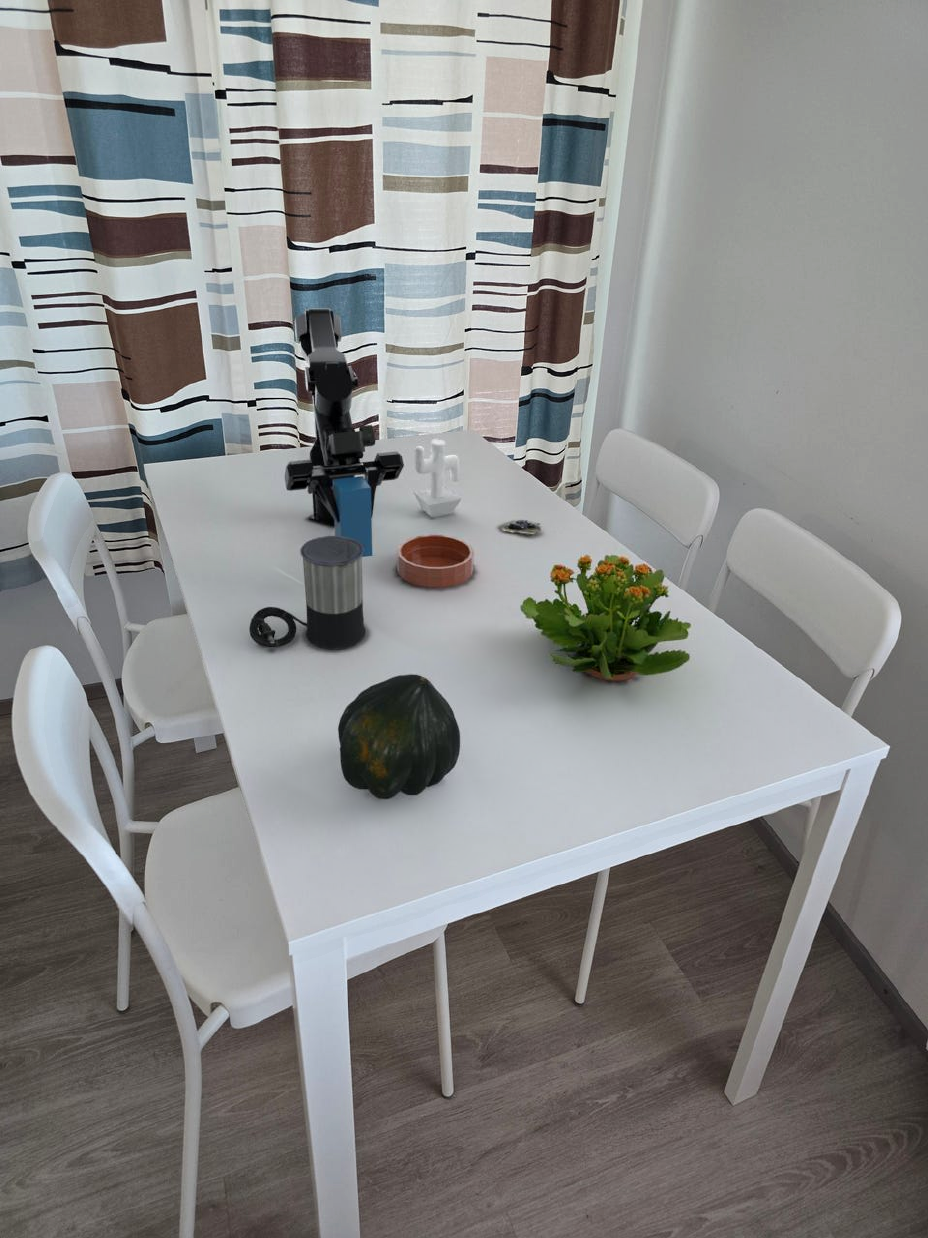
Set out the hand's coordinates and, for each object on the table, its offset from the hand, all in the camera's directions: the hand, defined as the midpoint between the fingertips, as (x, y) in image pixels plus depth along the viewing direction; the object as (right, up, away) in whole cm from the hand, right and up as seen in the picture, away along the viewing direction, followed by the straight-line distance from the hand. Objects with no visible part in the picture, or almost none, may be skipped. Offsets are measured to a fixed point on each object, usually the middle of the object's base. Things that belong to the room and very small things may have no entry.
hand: (354, 519), depth 137 cm
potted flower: (+40, -23, -9) cm, 47 cm away
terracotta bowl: (+12, -7, +14) cm, 21 cm away
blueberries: (+29, +1, +31) cm, 42 cm away
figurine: (+12, +6, +36) cm, 39 cm away
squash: (+10, -35, -31) cm, 48 cm away
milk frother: (-6, -19, -5) cm, 21 cm away
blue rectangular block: (-1, -5, +4) cm, 6 cm away
